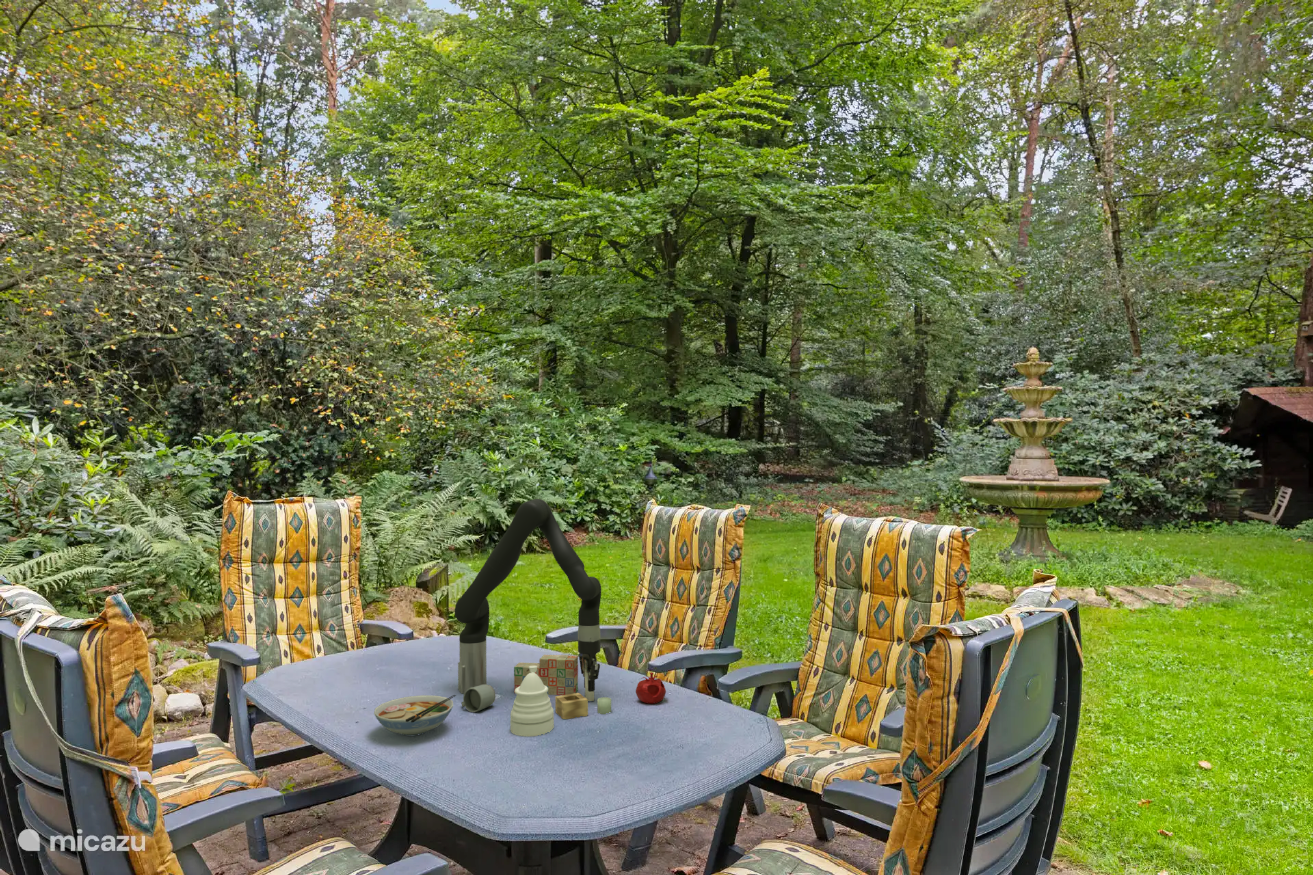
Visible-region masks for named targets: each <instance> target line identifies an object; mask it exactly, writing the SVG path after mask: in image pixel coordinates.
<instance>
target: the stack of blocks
mask: <svg viewBox="0 0 1313 875" xmlns="http://www.w3.org/2000/svg"><path fill="white" fill-rule="evenodd" d="M529 666H537V671H536V672H535V674H537V675H538V676H539V677H540V679H541V680H542V682H543V684H544V685H545V686H547V687H548V692H547V694H548V696H549V695H550V696H552V695H553V696H561V695H568V694H574V693H578V691H579V656H578V655H570V654H542V656H541V657H540V658H539V662H518V663H516V665H515V666H514V667H513V677H514V678H513V680H514V681H513V686H514V687H513V690H514V691H513V692H514V694H516V693H515V689H516V688H517V687H519V686H520V685H521V683H522V681H523V680H524V678H525V677H526V676H527V675H528V674H529V673H531V672H530V670H529Z"/></svg>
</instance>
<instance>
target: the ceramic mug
mask: <svg viewBox="0 0 1313 875" xmlns="http://www.w3.org/2000/svg"><path fill="white" fill-rule="evenodd" d="M462 700H463V701H461V707H462V708H464V707H465V709H466V710H467V711H468V712H470V713H477V712H480V711H482V710H483V709H486V708H488V707H490V706H491V705H493V704H494V703H495V701H496V691H495V689H494V688H493V686H492V685H490V684H484V685H480V686H476V687H472V688H469V689H468V690H467V691H466V692H465V694H463V698H462Z"/></svg>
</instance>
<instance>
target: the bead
mask: <svg viewBox="0 0 1313 875" xmlns="http://www.w3.org/2000/svg"><path fill="white" fill-rule="evenodd" d="M596 705H597V710H596V711H597V714H599V713H600V714H599V715H607V714H606V713H609V712H611V713H612V698H611V697H608V696H607V697H606V696H603V697H598V698H597V704H596ZM609 714H610V713H609Z"/></svg>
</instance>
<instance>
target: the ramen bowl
mask: <svg viewBox="0 0 1313 875" xmlns="http://www.w3.org/2000/svg"><path fill="white" fill-rule="evenodd" d="M456 696H457V694H453V695H451V696H449V697H445V696H439V695H426V694H425V695H424V694H423V695H411V696H405V697H400V698H396V699H391V700H389V701H385V702H383V703H380V704H379V705H378V706H377V707H375V708H374V713H373V715H374V716H375V718H376V720H378V723H380V725H381V726H382V727H383V728H385V729H387V730H388V731H390V732H392V733H395V734H400V735H402V736H406V735H415V736H419V735H418V734H420V735H423V734H425V733H427V732H428V731H431V730H434V729H435V728H437V727H439V726H440V725H441V724H442V723H443V722H444V721H445V720H446V719H447V718H448V716H449V715H450V713H451V712H452V709H453V707H454V701H453V700H452V699H453V698H455V697H456ZM422 733H423V734H422Z"/></svg>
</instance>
